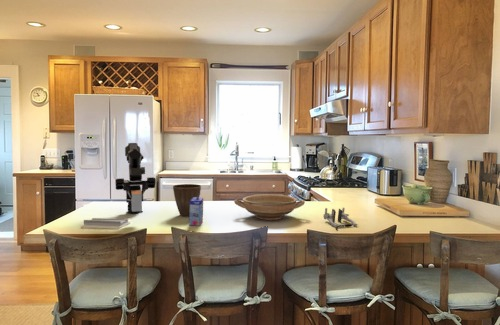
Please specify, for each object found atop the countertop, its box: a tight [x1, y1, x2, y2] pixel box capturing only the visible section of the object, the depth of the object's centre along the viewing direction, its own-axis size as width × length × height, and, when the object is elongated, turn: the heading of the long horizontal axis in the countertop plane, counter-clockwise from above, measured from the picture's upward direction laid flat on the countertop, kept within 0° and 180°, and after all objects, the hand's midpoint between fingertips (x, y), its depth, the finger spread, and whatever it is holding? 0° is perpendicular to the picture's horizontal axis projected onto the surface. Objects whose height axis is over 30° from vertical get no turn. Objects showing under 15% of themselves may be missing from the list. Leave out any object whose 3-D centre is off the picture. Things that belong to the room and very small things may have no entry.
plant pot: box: [172, 183, 202, 217], centre depth 197 cm, size 15×15×16 cm
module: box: [131, 189, 143, 212], centre depth 175 cm, size 4×4×10 cm
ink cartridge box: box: [189, 193, 204, 227], centre depth 178 cm, size 10×6×14 cm, turn 179°
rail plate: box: [80, 217, 131, 230], centre depth 174 cm, size 11×19×3 cm, turn 82°
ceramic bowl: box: [233, 193, 305, 221], centre depth 192 cm, size 37×29×10 cm
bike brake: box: [323, 207, 358, 232], centre depth 176 cm, size 14×7×20 cm
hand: (136, 197), depth 174 cm, fingers closed on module, 4 cm apart
